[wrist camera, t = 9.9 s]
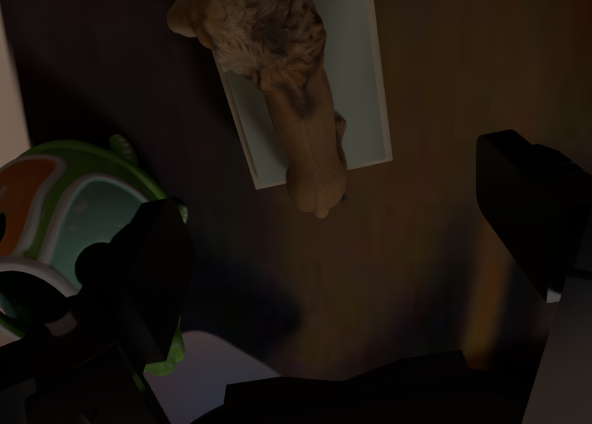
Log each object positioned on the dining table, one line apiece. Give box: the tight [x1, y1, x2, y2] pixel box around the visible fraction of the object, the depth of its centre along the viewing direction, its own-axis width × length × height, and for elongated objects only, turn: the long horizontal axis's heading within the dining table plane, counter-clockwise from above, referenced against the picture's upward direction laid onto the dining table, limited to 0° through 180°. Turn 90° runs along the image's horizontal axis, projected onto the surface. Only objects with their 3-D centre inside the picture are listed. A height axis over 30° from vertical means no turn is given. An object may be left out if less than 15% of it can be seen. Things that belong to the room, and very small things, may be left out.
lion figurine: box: [167, 0, 348, 218], centre depth 20 cm, size 15×5×9 cm, turn 25°
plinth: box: [212, 0, 393, 190], centre depth 26 cm, size 9×13×6 cm
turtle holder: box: [0, 134, 188, 376], centre depth 30 cm, size 12×18×12 cm
